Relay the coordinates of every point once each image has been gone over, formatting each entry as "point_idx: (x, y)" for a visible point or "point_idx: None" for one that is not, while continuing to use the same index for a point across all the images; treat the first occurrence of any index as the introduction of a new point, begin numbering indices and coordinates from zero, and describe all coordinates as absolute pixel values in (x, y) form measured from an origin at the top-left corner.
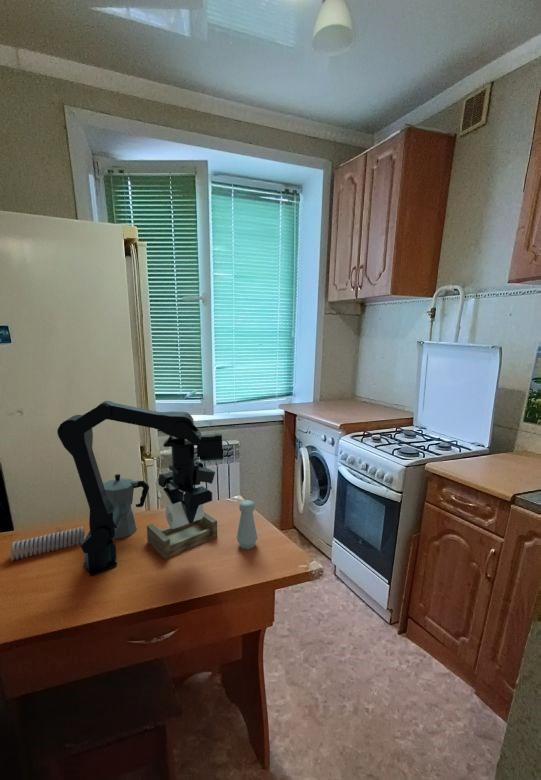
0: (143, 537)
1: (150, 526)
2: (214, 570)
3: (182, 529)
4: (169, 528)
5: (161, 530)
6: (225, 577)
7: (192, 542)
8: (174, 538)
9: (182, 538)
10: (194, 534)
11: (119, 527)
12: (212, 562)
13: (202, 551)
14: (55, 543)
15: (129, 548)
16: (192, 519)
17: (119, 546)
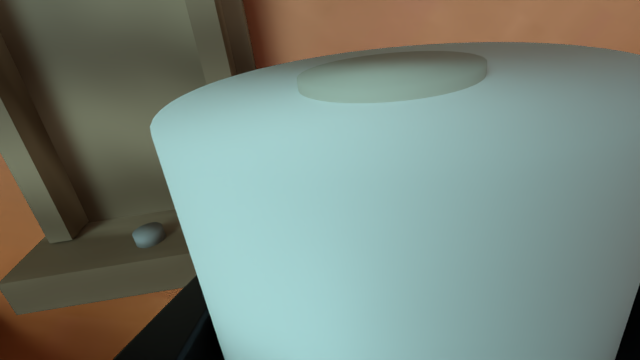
0: (16, 250)
1: (40, 299)
2: (531, 32)
3: (14, 38)
4: (25, 149)
5: (38, 200)
6: (619, 7)
7: (233, 43)
8: (128, 128)
9: (150, 84)
10: (196, 16)
11: None
12: (466, 8)
13: (329, 11)
14: None
15: (109, 315)
16: None
17: (72, 344)
